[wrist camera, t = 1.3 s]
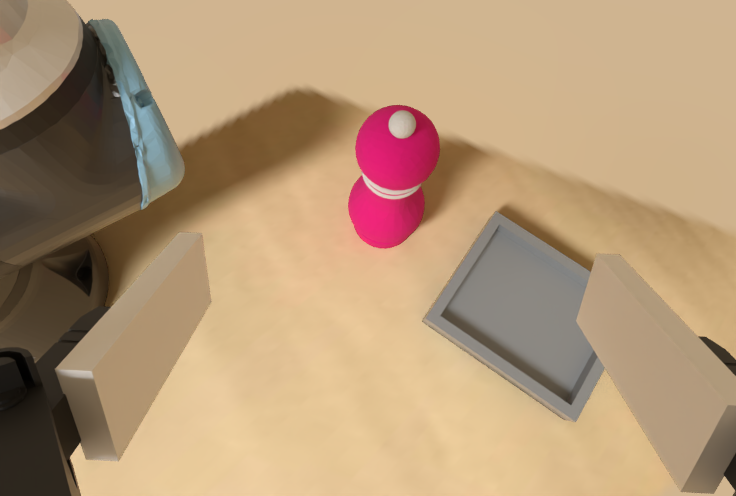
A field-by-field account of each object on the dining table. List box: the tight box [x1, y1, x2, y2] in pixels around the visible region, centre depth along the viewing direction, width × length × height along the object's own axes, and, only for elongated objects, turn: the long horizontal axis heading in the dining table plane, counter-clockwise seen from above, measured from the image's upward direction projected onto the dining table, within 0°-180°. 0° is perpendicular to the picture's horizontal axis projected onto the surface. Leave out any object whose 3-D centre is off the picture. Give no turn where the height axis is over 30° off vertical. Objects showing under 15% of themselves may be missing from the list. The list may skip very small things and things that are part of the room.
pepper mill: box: [348, 105, 440, 248], centre depth 39 cm, size 7×7×20 cm
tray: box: [422, 211, 604, 422], centre depth 45 cm, size 16×13×2 cm
